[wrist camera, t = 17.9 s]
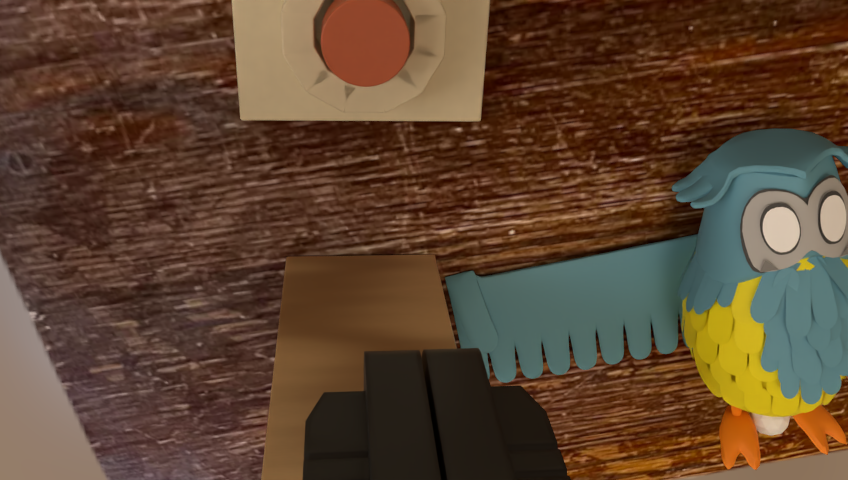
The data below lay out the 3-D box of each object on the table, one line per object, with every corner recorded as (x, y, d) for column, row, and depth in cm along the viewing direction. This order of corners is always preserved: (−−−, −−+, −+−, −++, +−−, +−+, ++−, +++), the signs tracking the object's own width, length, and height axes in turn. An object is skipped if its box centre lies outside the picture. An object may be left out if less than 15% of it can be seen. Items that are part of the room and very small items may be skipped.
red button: (322, 73, 30) (321, 86, 28) (320, -13, 28) (319, -4, 27) (405, 74, 30) (409, 87, 28) (408, -11, 29) (411, -2, 27)
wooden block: (292, 376, 39) (270, 650, 26) (286, 255, 36) (258, 500, 23) (428, 371, 40) (474, 637, 27) (434, 253, 37) (490, 489, 24)
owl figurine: (506, 559, 34) (448, 269, 27) (476, 429, 42) (424, 177, 35) (1121, 427, 34) (1218, 103, 27) (978, 321, 42) (1025, 48, 35)
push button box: (243, 111, 33) (235, 136, 30) (228, -94, 29) (218, -86, 26) (476, 113, 34) (488, 136, 31) (491, -85, 30) (506, -77, 27)
